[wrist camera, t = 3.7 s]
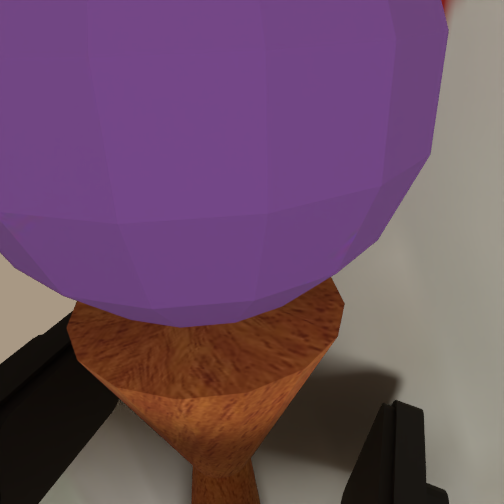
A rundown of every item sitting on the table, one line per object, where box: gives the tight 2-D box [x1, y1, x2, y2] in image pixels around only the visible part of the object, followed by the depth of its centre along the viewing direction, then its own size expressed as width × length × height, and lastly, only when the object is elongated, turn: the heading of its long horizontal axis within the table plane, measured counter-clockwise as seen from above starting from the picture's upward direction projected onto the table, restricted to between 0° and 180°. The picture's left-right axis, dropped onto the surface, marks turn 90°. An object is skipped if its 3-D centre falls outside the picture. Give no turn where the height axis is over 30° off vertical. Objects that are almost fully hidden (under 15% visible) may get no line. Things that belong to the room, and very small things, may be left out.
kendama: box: [0, 0, 449, 504], centre depth 9 cm, size 6×6×20 cm
